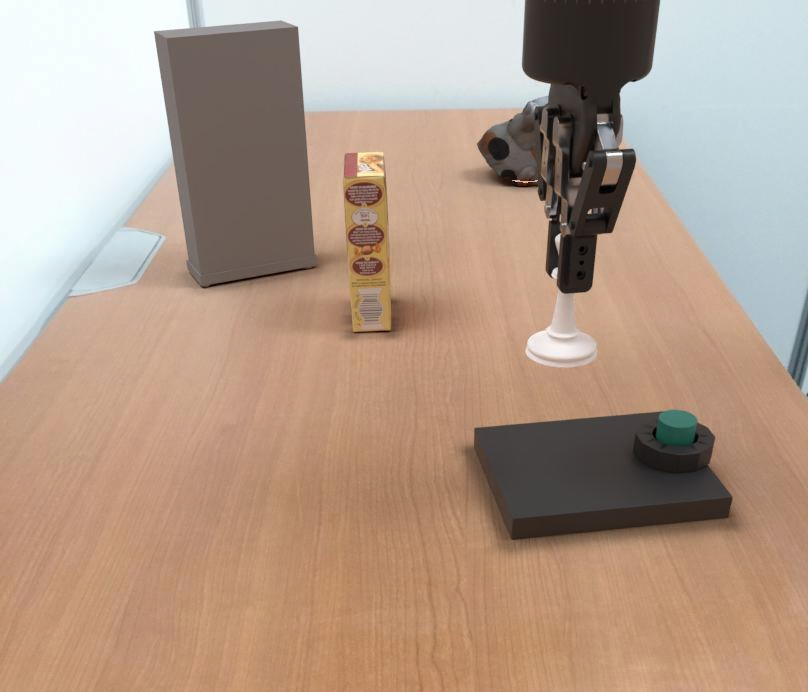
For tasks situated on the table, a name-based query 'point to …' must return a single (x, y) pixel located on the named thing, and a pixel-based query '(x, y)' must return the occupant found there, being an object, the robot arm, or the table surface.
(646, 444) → the scale
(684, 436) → the button
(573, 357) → the chess piece
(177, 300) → the table surface
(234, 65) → the gray rectangular block
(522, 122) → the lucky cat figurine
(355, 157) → the candy box
